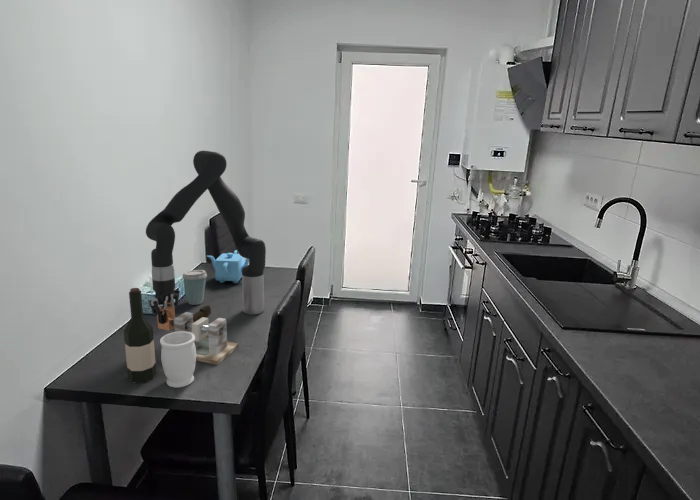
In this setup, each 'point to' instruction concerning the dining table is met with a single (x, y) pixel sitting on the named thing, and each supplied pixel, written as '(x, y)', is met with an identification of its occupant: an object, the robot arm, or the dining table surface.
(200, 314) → the hand tool
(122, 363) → the dining table surface
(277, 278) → the dining table surface
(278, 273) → the dining table surface
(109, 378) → the dining table surface
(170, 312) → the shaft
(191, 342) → the jar
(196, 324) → the spacer collar
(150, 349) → the wine bottle
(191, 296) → the disposable coffee cup
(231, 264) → the teakettle
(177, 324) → the bearing stand
